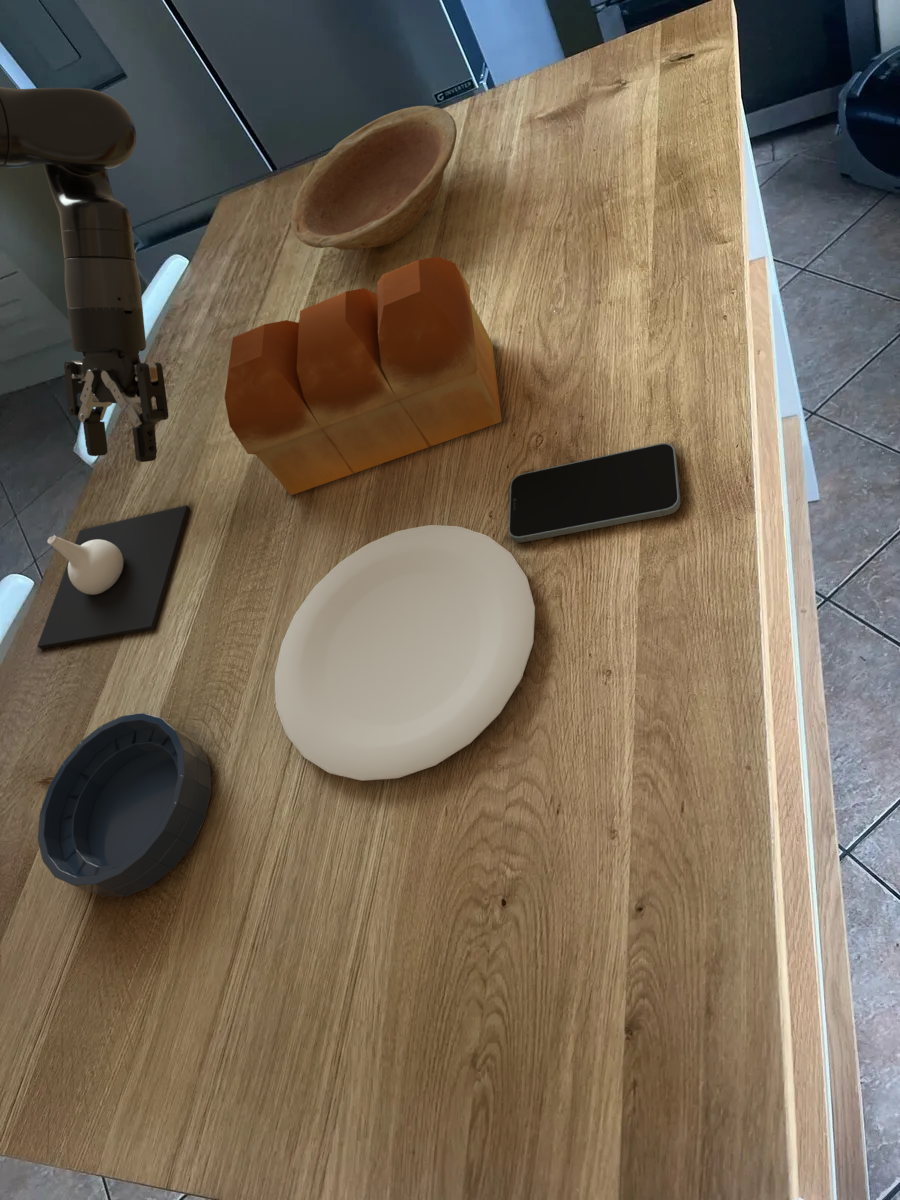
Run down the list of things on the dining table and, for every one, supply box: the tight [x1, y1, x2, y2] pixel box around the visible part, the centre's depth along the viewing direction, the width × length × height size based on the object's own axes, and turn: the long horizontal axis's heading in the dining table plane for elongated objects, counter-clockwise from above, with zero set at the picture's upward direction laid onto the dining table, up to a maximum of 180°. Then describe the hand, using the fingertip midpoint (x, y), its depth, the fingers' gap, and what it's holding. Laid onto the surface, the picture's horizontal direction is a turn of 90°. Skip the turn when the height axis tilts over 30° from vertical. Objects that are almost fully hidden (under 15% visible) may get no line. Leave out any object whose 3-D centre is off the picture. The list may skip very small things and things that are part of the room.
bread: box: [224, 256, 503, 496], centre depth 91 cm, size 25×12×15 cm, turn 93°
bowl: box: [290, 105, 458, 251], centre depth 114 cm, size 24×24×8 cm
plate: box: [274, 524, 537, 782], centre depth 79 cm, size 25×25×2 cm
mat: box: [37, 505, 190, 650], centre depth 101 cm, size 16×16×1 cm
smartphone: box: [508, 442, 681, 543], centre depth 79 cm, size 7×1×15 cm
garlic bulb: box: [46, 534, 123, 595], centre depth 98 cm, size 6×6×8 cm
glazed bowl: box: [37, 712, 212, 898], centre depth 80 cm, size 15×15×4 cm
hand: (121, 458), depth 101 cm, fingers open, 8 cm apart
